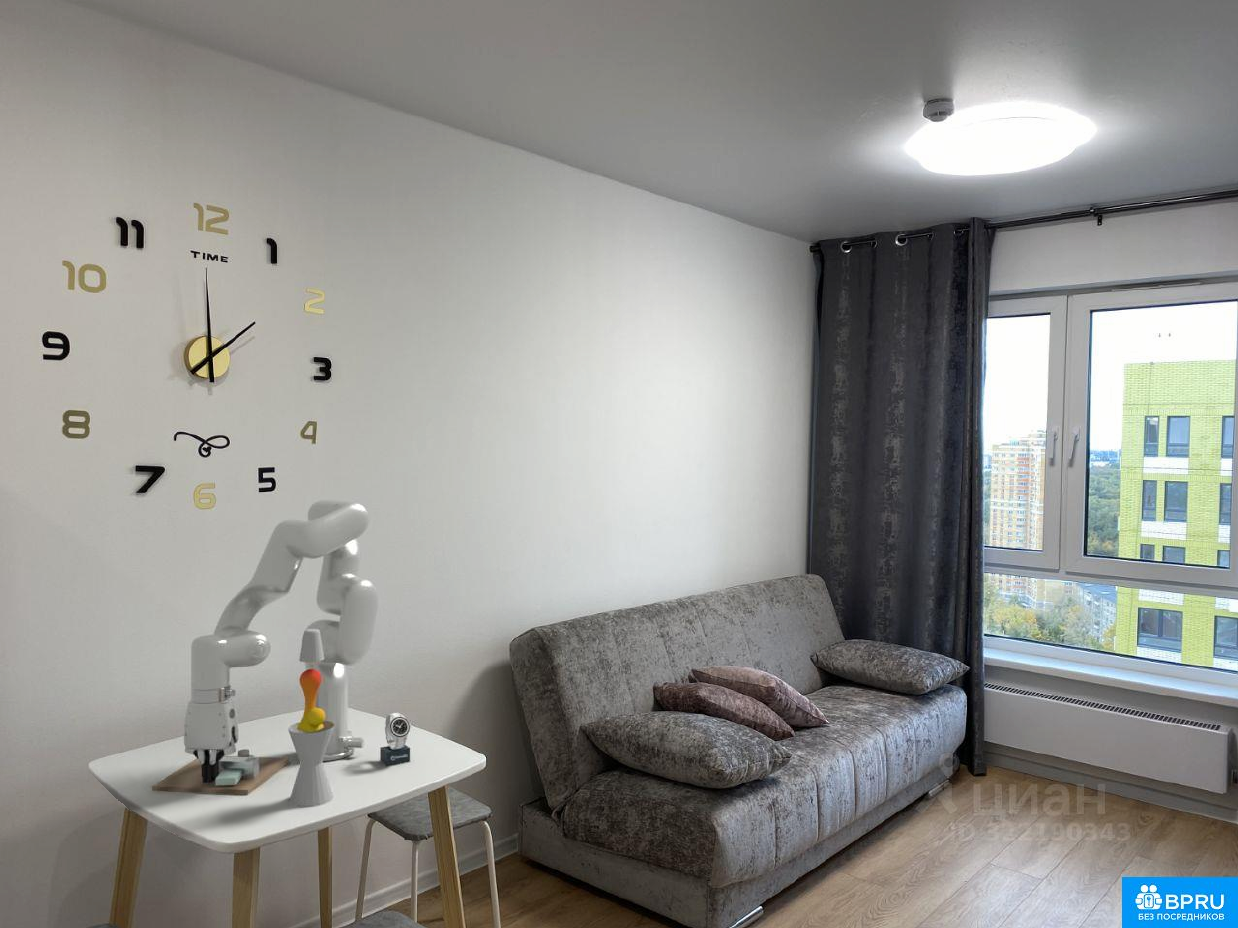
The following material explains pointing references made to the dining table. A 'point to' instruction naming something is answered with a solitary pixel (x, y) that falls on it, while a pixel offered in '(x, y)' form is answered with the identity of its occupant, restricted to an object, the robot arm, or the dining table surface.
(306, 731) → the lava lamp
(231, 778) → the link
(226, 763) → the keeper
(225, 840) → the dining table surface
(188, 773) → the board
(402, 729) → the watch
